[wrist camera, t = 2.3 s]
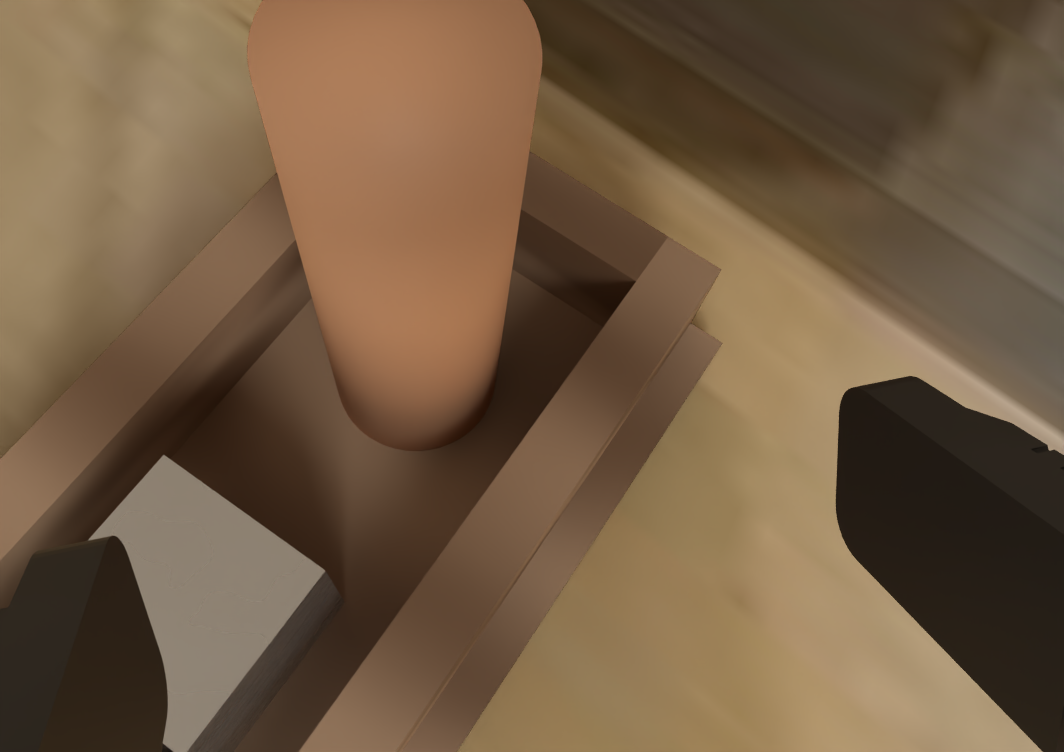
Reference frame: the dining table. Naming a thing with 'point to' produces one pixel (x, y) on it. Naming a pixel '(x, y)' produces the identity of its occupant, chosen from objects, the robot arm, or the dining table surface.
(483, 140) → the orange rounded cylinder
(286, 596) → the light grey cube
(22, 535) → the slot board
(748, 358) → the dining table surface
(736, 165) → the dining table surface
